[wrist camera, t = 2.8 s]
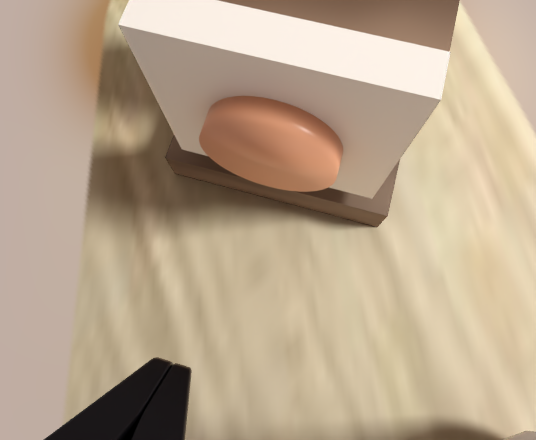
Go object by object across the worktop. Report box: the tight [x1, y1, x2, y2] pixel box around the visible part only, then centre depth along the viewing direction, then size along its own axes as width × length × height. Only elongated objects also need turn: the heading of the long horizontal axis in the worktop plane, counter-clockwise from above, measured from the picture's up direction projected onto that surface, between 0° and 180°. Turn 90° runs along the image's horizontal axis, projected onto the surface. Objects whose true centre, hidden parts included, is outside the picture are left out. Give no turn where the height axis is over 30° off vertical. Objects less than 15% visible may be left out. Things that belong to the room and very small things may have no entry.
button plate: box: [118, 0, 450, 199], centre depth 15 cm, size 2×9×8 cm, turn 74°
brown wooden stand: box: [165, 0, 460, 227], centre depth 19 cm, size 8×11×7 cm
